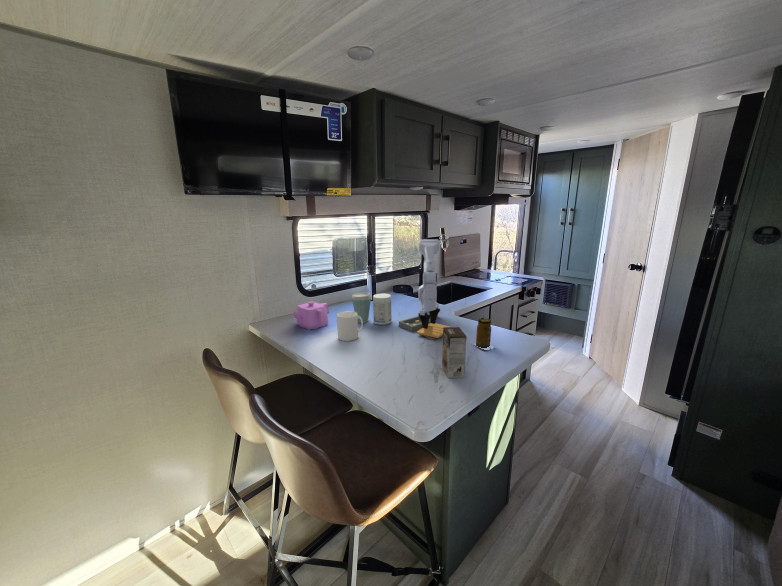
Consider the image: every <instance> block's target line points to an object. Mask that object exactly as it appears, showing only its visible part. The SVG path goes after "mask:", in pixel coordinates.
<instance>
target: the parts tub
mask: <svg viewBox="0 0 782 586" xmlns="http://www.w3.org/2000/svg"><path fill="white" fill-rule="evenodd" d="M430 323H431V322H430V320H429V324H430ZM398 327H400V328H402V329H405V330H406V331H408V332H411V333H413V332H417V331H419V330H420V329H422V328H423V326H422V322H421V319H420V317H419V316H418V315H417V316H413V317H410V318H407V319H403V320H399V321H398Z"/></svg>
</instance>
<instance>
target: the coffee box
mask: <svg viewBox="0 0 782 586" xmlns="http://www.w3.org/2000/svg"><path fill="white" fill-rule="evenodd" d="M466 351H467V335H466V334H465V332H464V331H463V330H462V328H461V327H460V326H458V327H457V326H456V327H455V326H450V327H444V328H443V336H442V355H441V357H442V360H441V361H442V362H441V367H442V369H443V371H444V373H445V376H446V377H447V379H452V378H455V379H457V378H465V369H466V368H465V367H466V366H465V365H466V354H467V353H466Z"/></svg>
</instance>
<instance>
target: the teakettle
mask: <svg viewBox="0 0 782 586" xmlns="http://www.w3.org/2000/svg"><path fill="white" fill-rule="evenodd" d="M291 314H292V316H293V317H294V318H295V319H296V320H295V321H296V323H297V325H298V326H299V325H300V326H299V327H300V328H303V327H304V328H303V329H305V328H306V330H308V329H313V330H315V328H316V329H320V328H323V327H326V326H328V324H329V316H328V314H330V310H329V305H328V303H326V302H324V303H320V302H315V301H312V300H311V301H308V302H306V303H298V305H297V306H296V311H293V312H291ZM325 325H326V326H325ZM322 326H323V327H322ZM319 327H320V328H319Z"/></svg>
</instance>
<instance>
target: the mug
mask: <svg viewBox="0 0 782 586" xmlns="http://www.w3.org/2000/svg"><path fill="white" fill-rule="evenodd" d="M358 319H360V320H361V324H360V328H359V322H358ZM336 325H337V337H338V338H337V339H338V340H340V341H341V340H342V342H353V341H356V340H357V339H358V337H359V332H362V329H363V327H364V323H363V321H362V318H361V317H360V316H357V313H356V312H354V310H344V311H340V312H337V314H336Z"/></svg>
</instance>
